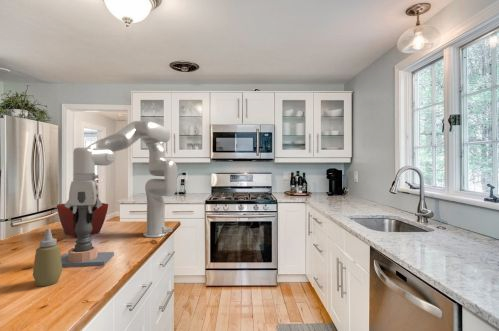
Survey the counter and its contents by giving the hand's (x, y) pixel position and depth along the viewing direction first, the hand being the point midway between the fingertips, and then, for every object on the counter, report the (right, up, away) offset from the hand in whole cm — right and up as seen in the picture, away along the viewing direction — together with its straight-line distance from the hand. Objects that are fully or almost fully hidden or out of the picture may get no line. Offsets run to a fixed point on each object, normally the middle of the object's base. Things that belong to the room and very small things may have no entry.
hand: (83, 222), depth 113 cm
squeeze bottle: (0, -16, -20) cm, 26 cm away
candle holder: (0, -12, 0) cm, 12 cm away
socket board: (0, -16, 0) cm, 16 cm away
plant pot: (-25, -15, +41) cm, 51 cm away
